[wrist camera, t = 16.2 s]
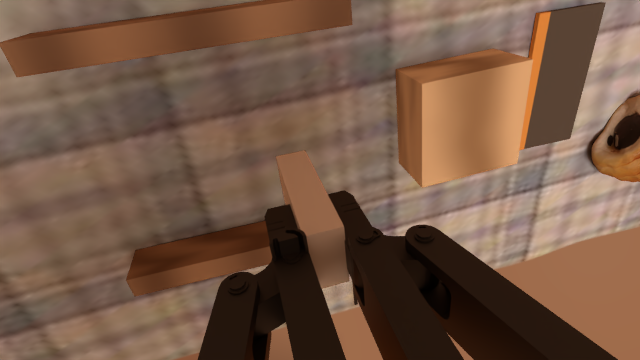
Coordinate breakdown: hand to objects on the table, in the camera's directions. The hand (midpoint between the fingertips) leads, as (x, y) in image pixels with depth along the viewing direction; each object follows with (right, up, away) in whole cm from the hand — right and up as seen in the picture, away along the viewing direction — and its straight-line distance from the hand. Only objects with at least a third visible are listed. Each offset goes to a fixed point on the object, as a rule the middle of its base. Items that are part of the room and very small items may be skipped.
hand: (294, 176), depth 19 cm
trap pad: (+19, +7, +8) cm, 21 cm away
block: (+10, +5, +7) cm, 13 cm away
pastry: (+28, +4, +13) cm, 31 cm away
